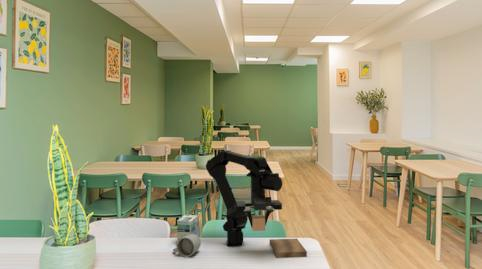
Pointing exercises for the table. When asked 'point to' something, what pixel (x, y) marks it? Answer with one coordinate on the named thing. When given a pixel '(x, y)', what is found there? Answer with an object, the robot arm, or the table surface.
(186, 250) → the ceramic mug
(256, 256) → the table surface
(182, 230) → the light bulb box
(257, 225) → the terracotta cube
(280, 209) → the robot arm
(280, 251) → the walnut board
